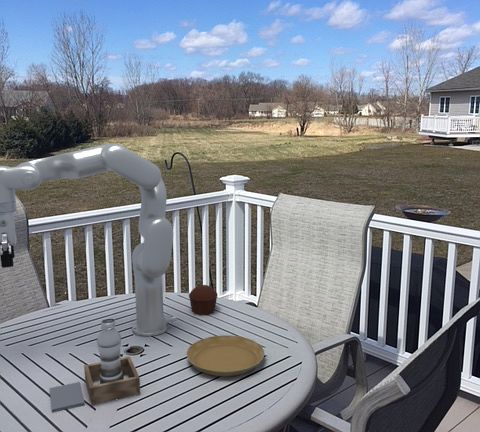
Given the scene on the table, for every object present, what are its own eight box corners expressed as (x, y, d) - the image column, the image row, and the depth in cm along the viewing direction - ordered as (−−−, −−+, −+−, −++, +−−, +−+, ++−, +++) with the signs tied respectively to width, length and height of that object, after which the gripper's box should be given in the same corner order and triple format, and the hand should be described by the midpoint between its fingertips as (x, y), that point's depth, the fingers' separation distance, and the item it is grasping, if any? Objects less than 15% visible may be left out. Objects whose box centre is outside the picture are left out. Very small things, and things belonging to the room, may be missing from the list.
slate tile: (80, 384, 137) (79, 381, 136) (84, 404, 127) (84, 402, 127) (49, 390, 133) (49, 388, 133) (52, 412, 123) (51, 409, 123)
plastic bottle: (128, 383, 137) (125, 317, 133) (115, 396, 131) (111, 327, 127) (109, 379, 139) (105, 314, 135) (95, 392, 133) (90, 324, 129)
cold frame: (130, 371, 143) (129, 356, 142) (140, 394, 132) (139, 377, 131) (85, 381, 138) (84, 365, 137) (91, 405, 126) (89, 388, 125)
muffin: (189, 305, 194) (188, 282, 192) (216, 304, 195) (216, 281, 193) (189, 317, 182) (188, 292, 180) (218, 316, 184) (218, 291, 181)
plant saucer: (227, 336, 167) (227, 328, 166) (280, 361, 150) (280, 351, 149) (171, 361, 150) (170, 351, 150) (223, 391, 133) (223, 380, 133)
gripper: (15, 211, 137) (21, 269, 141) (17, 202, 153) (22, 254, 156) (-14, 213, 134) (-8, 272, 138) (-10, 203, 150) (-4, 256, 153)
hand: (8, 262), depth 147 cm, fingers open, 9 cm apart
